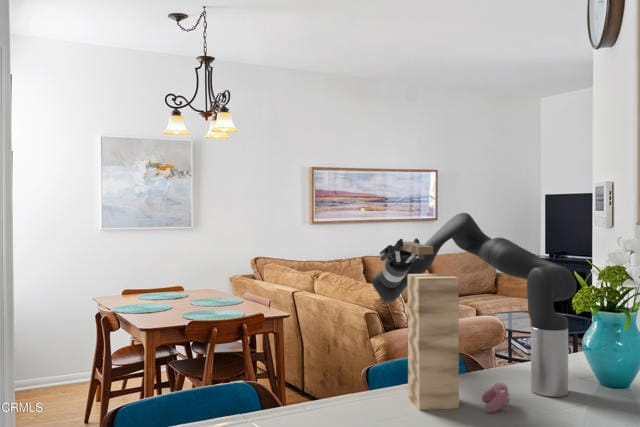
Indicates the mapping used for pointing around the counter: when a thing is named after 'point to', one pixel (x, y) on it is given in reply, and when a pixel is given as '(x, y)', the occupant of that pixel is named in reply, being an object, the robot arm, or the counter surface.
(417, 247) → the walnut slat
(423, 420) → the counter surface
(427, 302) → the wooden block tower
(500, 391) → the pink curved piece
